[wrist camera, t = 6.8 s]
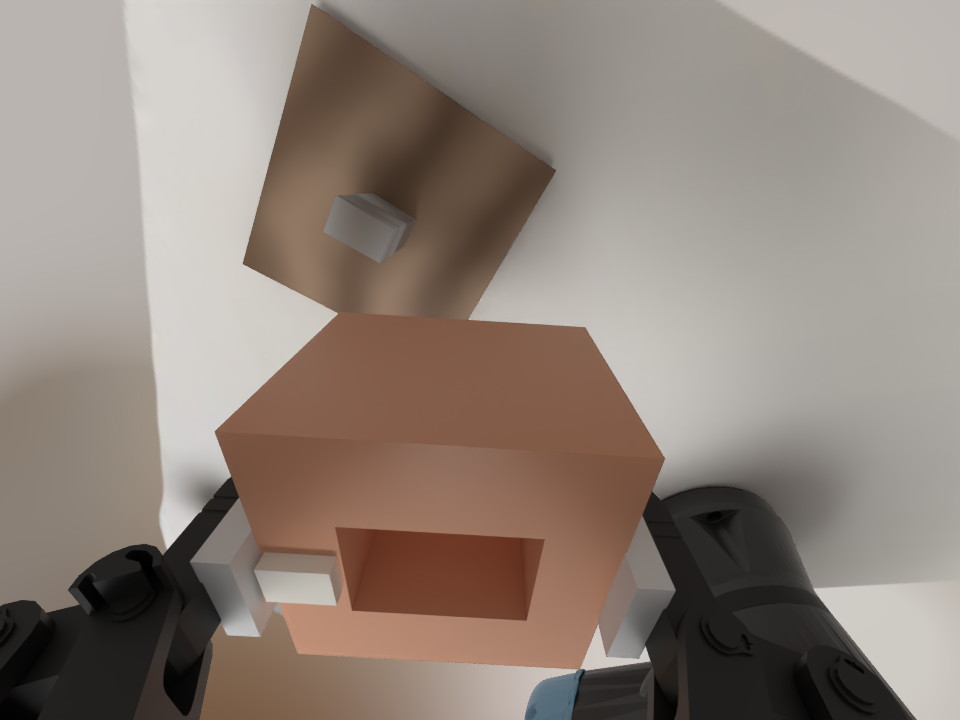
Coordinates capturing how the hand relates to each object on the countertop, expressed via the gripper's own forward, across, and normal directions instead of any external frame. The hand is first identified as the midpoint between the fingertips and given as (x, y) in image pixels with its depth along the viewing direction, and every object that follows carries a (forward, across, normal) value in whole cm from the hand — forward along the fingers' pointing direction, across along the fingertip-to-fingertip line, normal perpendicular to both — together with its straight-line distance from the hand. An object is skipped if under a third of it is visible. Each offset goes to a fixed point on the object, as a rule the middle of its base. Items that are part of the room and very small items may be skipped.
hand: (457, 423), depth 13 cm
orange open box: (0, 0, 0) cm, 0 cm away
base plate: (+16, +6, -5) cm, 18 cm away
